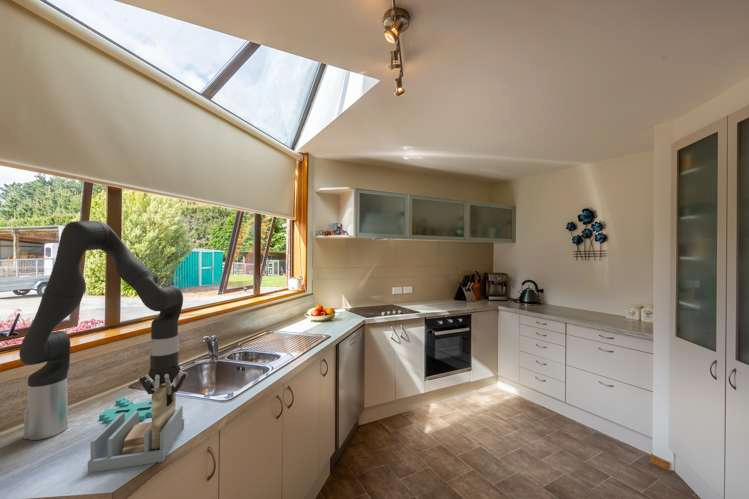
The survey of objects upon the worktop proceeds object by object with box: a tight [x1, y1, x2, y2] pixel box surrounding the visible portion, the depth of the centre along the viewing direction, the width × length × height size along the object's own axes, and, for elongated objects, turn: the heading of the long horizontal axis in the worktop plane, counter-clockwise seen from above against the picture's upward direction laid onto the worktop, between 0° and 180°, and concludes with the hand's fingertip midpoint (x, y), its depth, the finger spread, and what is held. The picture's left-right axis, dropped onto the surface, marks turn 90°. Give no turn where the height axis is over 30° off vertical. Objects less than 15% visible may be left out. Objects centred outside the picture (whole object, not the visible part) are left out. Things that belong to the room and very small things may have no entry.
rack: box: [87, 405, 185, 474], centre depth 97 cm, size 18×18×8 cm
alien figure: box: [98, 397, 152, 426], centre depth 119 cm, size 20×2×20 cm
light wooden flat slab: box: [151, 376, 177, 450], centre depth 99 cm, size 2×13×16 cm, turn 14°
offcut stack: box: [122, 421, 152, 455], centre depth 98 cm, size 6×12×5 cm, turn 21°
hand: (164, 405), depth 99 cm, fingers closed on light wooden flat slab, 2 cm apart
